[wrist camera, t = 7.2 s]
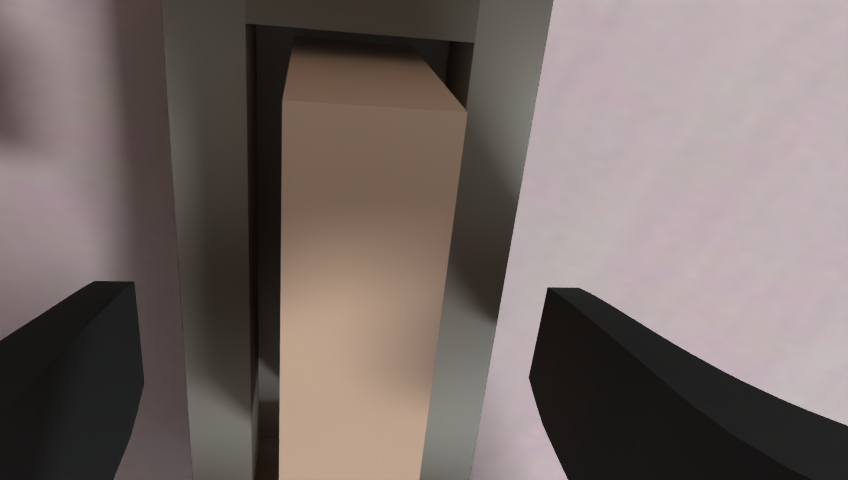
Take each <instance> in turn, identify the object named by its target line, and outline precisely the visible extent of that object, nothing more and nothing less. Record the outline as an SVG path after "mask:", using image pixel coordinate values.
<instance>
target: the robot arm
mask: <svg viewBox="0 0 848 480" xmlns="http://www.w3.org/2000/svg"><path fill="white" fill-rule="evenodd" d="M529 380H530V383H531V387H532V391H533V394H534V398H535V401H536V405H537V408H538V411H539V414H540V417H541V420H542V423H543V426H544V428H545V430H546V433H547V435H548V437H549V439H550V442H551V444H552V446H553V448H554V450H555V453H556V455H557V457H558V459H559V461H560V463H561V465H562V468H563V470H564V472H565V474H566V476H567V478H568V480H848V426H846V425H844V424H841V423H839V422H836V421H833V420H831V419H828V418H826V417H823V416H820V415H818V414H815V413H813V412H810V411H807V410H805V409H803V408H800V407H798V406H796V405H793V404H791V403H788V402H786V401H784V400H782V399H779V398H777V397H775V396H773V395H771V394H769V393H766V392H764V391H762V390H760V389H758V388H756V387H754V386H751V385H749V384H747V383H745V382H743V381H741V380H739V379H737V378H735V377H733V376H731V375H729V374H727V373H725V372H723V371H721V370H719V369H718V368H716V367H714V366H712V365H710V364H709V363H707V362H705V361H703V360H701V359H699V358H698V357H696V356H694V355H692V354H690V353H689V352H687V351H685V350H683V349H682V348H680V347H678V346H677V345H675V344H673V343H672V342H670V341H668V340H667V339H665V338H663V337H662V336H660V335H658V334H657V333H655V332H653V331H652V330H650V329H648V328H647V327H645V326H644V325H642V324H640V323H639V322H637V321H636V320H634V319H632V318H631V317H629V316H627V315H626V314H624V313H623V312H621V311H619V310H618V309H616V308H615V307H613V306H611V305H610V304H608V303H606V302H605V301H603V300H601V299H599V298H598V297H596V296H594V295H592V294H590V293H588V292H586V291H584V290H582V289H580V288H547V293H546V298H545V303H544V308H543V312H542V317H541V322H540V327H539V332H538V336H537V341H536V346H535V351H534V356H533V360H532V365H531V370H530V375H529ZM143 386H144V375H143V365H142V355H141V345H140V335H139V325H138V315H137V305H136V295H135V285H134V282H121V281H94V282H92V283H90V284H88V285H87V286H85V287H83V288H82V289H80V290H78V291H77V292H75V293H73V294H72V295H70V296H69V297H67V298H66V299H64V300H63V301H61V302H60V303H58V304H57V305H55V306H53V307H52V308H50V309H49V310H47V311H46V312H44V313H43V314H41V315H40V316H38V317H37V318H35V319H33V320H32V321H30V322H29V323H27V324H26V325H24V326H23V327H21V328H19V329H18V330H16V331H15V332H13V333H12V334H10V335H8V336H7V337H5V338H4V339H2V340H0V480H113V479H114V476H115V474H116V471H117V469H118V466H119V464H120V462H121V459H122V457H123V454H124V452H125V449H126V447H127V444H128V441H129V439H130V436H131V433H132V429H133V426H134V422H135V418H136V414H137V411H138V407H139V402H140V398H141V394H142V390H143Z"/></svg>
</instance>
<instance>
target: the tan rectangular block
mask: <svg viewBox="0 0 848 480" xmlns="http://www.w3.org/2000/svg"><path fill="white" fill-rule="evenodd" d="M467 114H468V112H467V111H466V110H465V108H464V107H463V106H462V105H461V104H460V102H459V101H458V100H457V99H456V98H455V97H454V95H453V94H452V93H451V92H450V91H449V89H448V88H447V87H446V86H445V85H444V83H443V82H442V81H441V80H440V79H439V77H438V76H437V75H436V74H435V73H434V71H433V70H432V69H431V68H430V67H429V65H428V64H427V63H426V62H425V61H424V59H423V58H422V57H421V56H420V55H419V53H418V52H417V51H416V50H415V49H414V47H413V46H408V45H396V44H384V43H372V42H360V41H347V40H335V39H323V38H311V37H299V36H294V41H293V46H292V52H291V57H290V62H289V67H288V73H287V78H286V83H285V88H284V94H283V99H282V184H281V298H280V412H279V480H419V479H420V471H421V464H422V456H423V448H424V441H425V433H426V426H427V418H428V410H429V403H430V395H431V388H432V380H433V372H434V365H435V357H436V350H437V342H438V334H439V327H440V319H441V312H442V304H443V296H444V289H445V281H446V274H447V266H448V258H449V251H450V243H451V236H452V228H453V220H454V213H455V205H456V198H457V190H458V182H459V175H460V167H461V160H462V152H463V144H464V137H465V129H466V122H467Z"/></svg>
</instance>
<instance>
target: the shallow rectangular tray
mask: <svg viewBox="0 0 848 480" xmlns="http://www.w3.org/2000/svg"><path fill="white" fill-rule="evenodd" d="M552 6H553V0H161V10H162V25H163V40H164V55H165V70H166V85H167V100H168V115H169V131H170V146H171V161H172V176H173V191H174V206H175V221H176V236H177V251H178V266H179V281H180V296H181V311H182V326H183V341H184V356H185V371H186V386H187V401H188V416H189V431H190V446H191V461H192V476H193V480H279V412H280V298H281V184H282V99H283V94H284V88H285V83H286V78H287V73H288V67H289V62H290V57H291V52H292V46H293V41H294V36H299V37H311V38H323V39H335V40H347V41H360V42H372V43H384V44H396V45H408V46H413V47H414V49H415V50H416V51H417V52H418V53H419V55H420V56H421V57H422V58H423V59H424V61H425V62H426V63H427V64H428V65H429V67H430V68H431V69H432V70H433V71H434V73H435V74H436V75H437V76H438V77H439V79H440V80H441V81H442V82H443V83H444V85H445V86H446V87H447V88H448V89H449V91H450V92H451V93H452V94H453V95H454V97H455V98H456V99H457V100H458V101H459V102H460V104H461V105H462V106H463V107H464V108H465V110H466V111H467V112H468V114H467V122H466V129H465V137H464V144H463V152H462V160H461V167H460V175H459V182H458V190H457V198H456V205H455V213H454V220H453V228H452V236H451V243H450V251H449V258H448V266H447V274H446V281H445V289H444V296H443V304H442V312H441V319H440V327H439V334H438V342H437V350H436V357H435V365H434V372H433V380H432V388H431V395H430V403H429V410H428V418H427V426H426V433H425V441H424V448H423V456H422V464H421V471H420V479H419V480H469V479H470V473H471V468H472V462H473V456H474V451H475V445H476V439H477V433H478V428H479V422H480V416H481V411H482V405H483V399H484V394H485V388H486V382H487V376H488V371H489V365H490V359H491V354H492V348H493V342H494V337H495V331H496V325H497V319H498V314H499V308H500V302H501V297H502V291H503V285H504V279H505V274H506V268H507V262H508V257H509V251H510V245H511V240H512V234H513V228H514V222H515V217H516V211H517V205H518V200H519V194H520V188H521V183H522V177H523V171H524V165H525V160H526V154H527V148H528V143H529V137H530V131H531V126H532V120H533V114H534V108H535V103H536V97H537V91H538V86H539V80H540V74H541V68H542V63H543V57H544V51H545V46H546V40H547V34H548V29H549V23H550V17H551V11H552Z"/></svg>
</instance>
